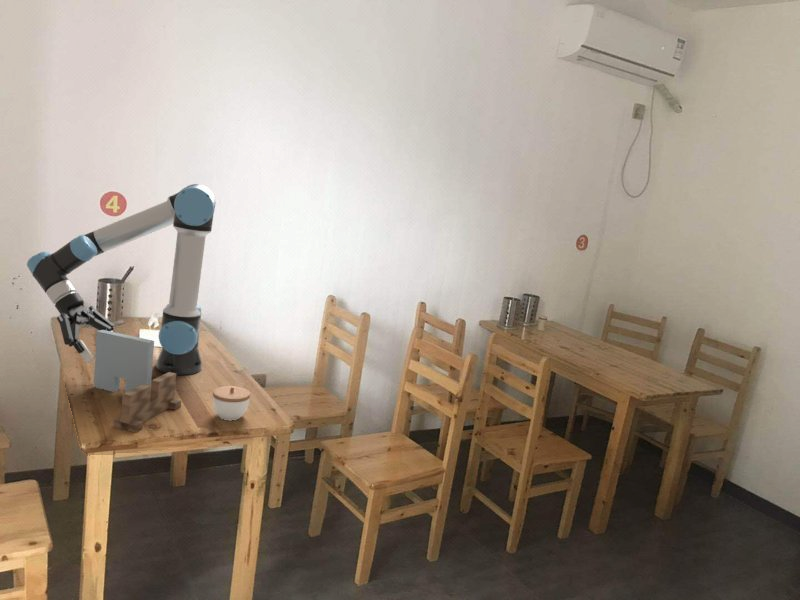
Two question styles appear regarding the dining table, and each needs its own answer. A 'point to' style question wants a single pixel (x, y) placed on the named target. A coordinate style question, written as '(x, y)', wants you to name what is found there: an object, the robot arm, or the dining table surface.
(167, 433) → the dining table surface
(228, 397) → the lidded jar
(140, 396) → the walnut board
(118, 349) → the slotted plate
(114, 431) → the dining table surface
